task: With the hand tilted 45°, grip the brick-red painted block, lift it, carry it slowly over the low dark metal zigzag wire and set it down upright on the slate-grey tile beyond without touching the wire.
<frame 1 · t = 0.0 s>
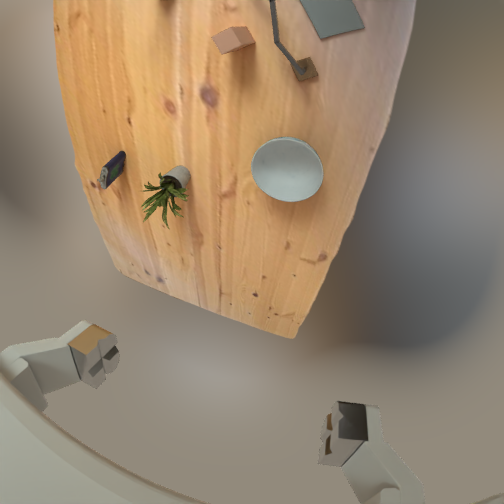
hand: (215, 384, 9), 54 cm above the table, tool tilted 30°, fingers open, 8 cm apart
house plant: (182, 177, 73), on the table
zigzag wire: (280, 22, 37), on the table
flask: (121, 161, 74), on the table
slate tile: (329, 6, 33), on the table
brick block: (242, 38, 42), on the table
chinaware: (292, 155, 60), on the table
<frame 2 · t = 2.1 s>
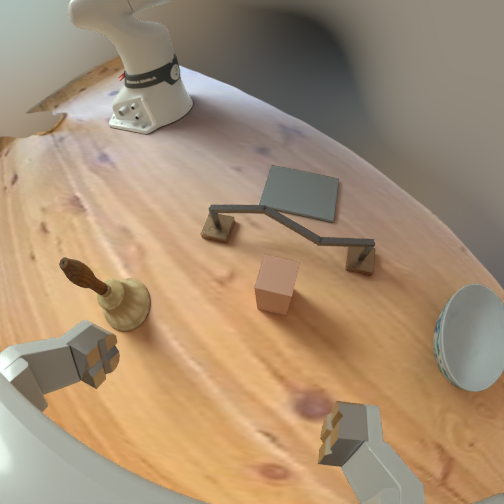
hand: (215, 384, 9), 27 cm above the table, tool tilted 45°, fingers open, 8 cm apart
hand bell: (126, 304, 38), on the table
zigzag wire: (288, 244, 41), on the table
slate tile: (300, 192, 45), on the table
brick block: (275, 298, 38), on the table
chinaware: (450, 346, 32), on the table
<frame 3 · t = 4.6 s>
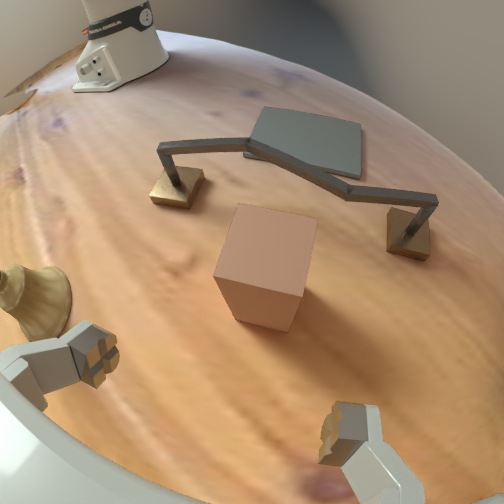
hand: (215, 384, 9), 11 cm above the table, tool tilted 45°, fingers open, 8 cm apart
hand bell: (44, 305, 21), on the table
zigzag wire: (291, 209, 24), on the table
slate tile: (307, 139, 28), on the table
brick block: (268, 301, 21), on the table
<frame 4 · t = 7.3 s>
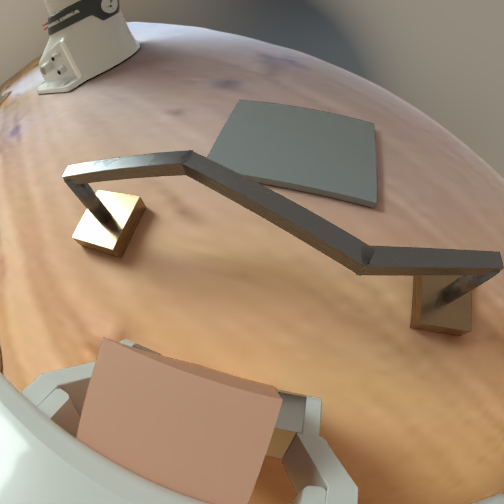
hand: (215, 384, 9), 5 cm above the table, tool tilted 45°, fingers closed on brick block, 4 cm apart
zigzag wire: (267, 262, 16), on the table
slate tile: (298, 144, 20), on the table
brick block: (223, 411, 12), on the table, touching gripper
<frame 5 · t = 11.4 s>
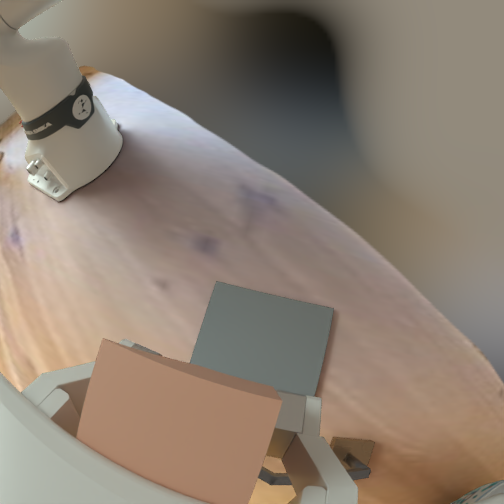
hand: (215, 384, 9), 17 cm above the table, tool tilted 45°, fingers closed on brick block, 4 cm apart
zigzag wire: (234, 436, 21), on the table
slate tile: (262, 340, 25), on the table
brick block: (223, 411, 12), point 12 cm above the table, touching gripper
when the fingers open (6 cm above the table, at t = 15.4 s): brick block stays where it is, resting on slate tile.
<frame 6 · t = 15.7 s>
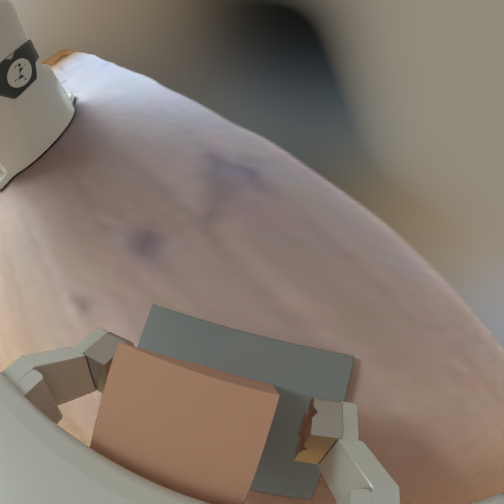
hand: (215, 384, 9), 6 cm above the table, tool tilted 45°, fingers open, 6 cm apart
slate tile: (227, 408, 13), on the table
brick block: (225, 408, 13), point 1 cm above the table, touching slate tile
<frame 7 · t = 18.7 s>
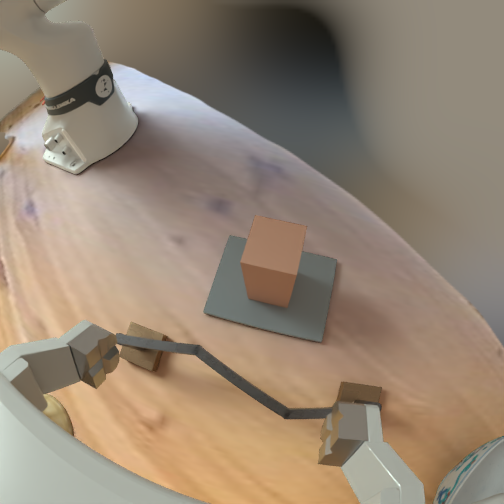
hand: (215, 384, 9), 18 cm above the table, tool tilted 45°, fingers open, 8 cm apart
hand bell: (51, 424, 22), on the table
zigzag wire: (246, 381, 24), on the table
slate tile: (272, 287, 28), on the table
brick block: (272, 285, 28), point 1 cm above the table, touching slate tile
chinaware: (455, 484, 16), on the table
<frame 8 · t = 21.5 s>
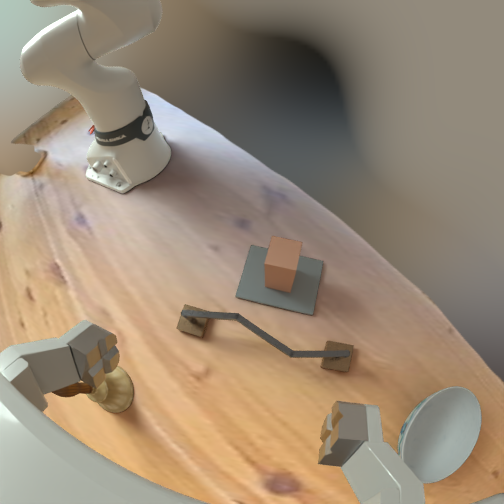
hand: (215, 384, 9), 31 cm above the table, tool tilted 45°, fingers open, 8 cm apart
hand bell: (112, 388, 36), on the table
zigzag wire: (264, 341, 39), on the table
slate tile: (280, 279, 43), on the table
brick block: (280, 278, 43), point 1 cm above the table, touching slate tile
chinaware: (420, 431, 30), on the table
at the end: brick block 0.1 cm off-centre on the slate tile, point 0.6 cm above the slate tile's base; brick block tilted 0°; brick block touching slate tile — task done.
